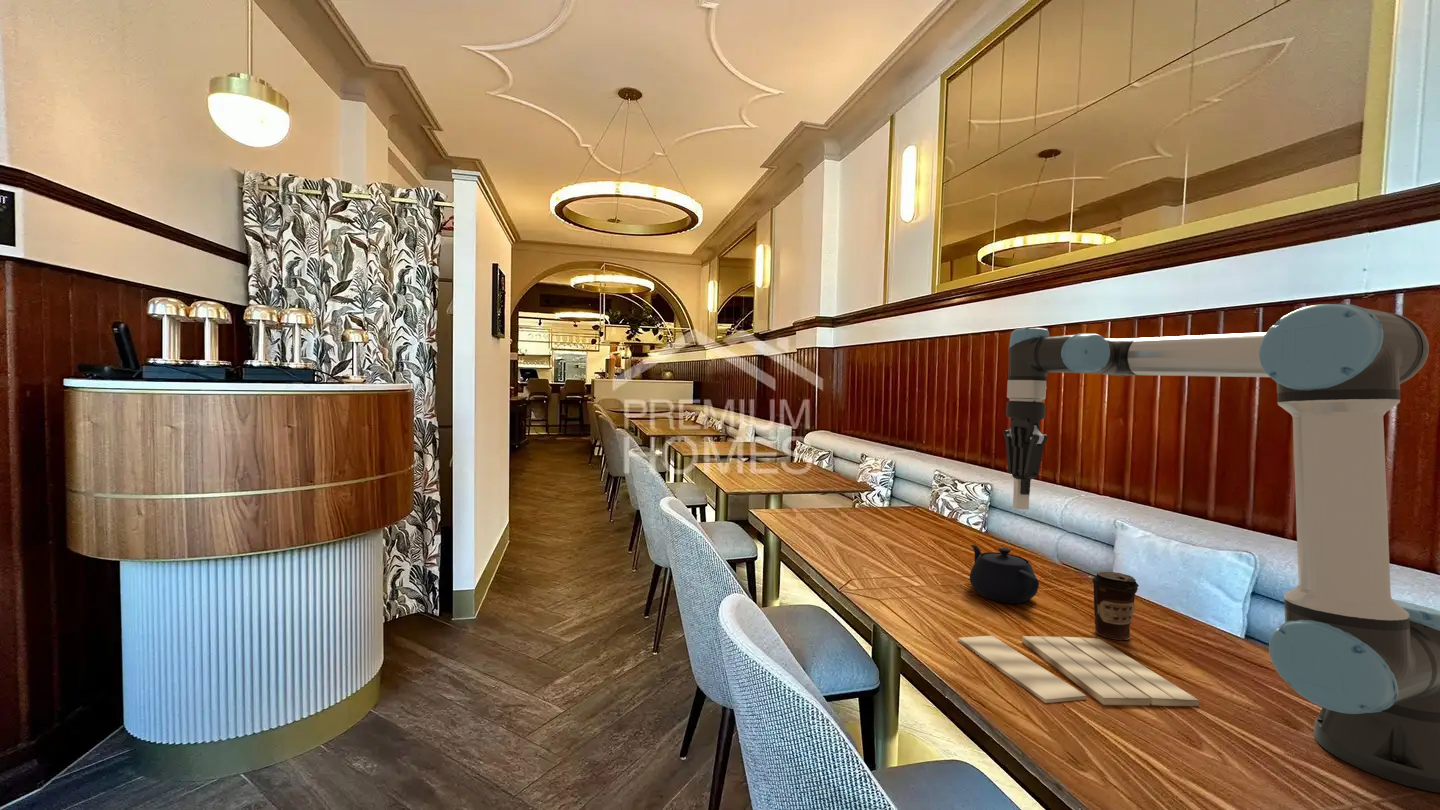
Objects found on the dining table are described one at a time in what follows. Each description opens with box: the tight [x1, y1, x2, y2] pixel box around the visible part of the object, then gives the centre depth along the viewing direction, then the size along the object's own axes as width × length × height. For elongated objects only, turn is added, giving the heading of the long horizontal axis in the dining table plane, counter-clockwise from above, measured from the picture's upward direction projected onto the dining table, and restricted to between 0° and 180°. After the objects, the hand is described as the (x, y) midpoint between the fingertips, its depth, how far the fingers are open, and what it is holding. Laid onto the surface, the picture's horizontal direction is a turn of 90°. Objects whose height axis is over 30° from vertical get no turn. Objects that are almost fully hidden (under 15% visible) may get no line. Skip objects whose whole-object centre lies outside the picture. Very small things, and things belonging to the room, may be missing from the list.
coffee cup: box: [1091, 571, 1139, 641], centre depth 126 cm, size 9×8×13 cm
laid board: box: [1021, 635, 1151, 706], centre depth 109 cm, size 24×8×1 cm, turn 3°
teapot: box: [969, 544, 1040, 604], centre depth 149 cm, size 25×16×12 cm, turn 11°
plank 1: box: [957, 635, 1087, 704], centre depth 110 cm, size 24×8×1 cm, turn 12°
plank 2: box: [1061, 636, 1200, 707], centre depth 109 cm, size 24×8×1 cm, turn 3°
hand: (1020, 508), depth 127 cm, fingers closed
